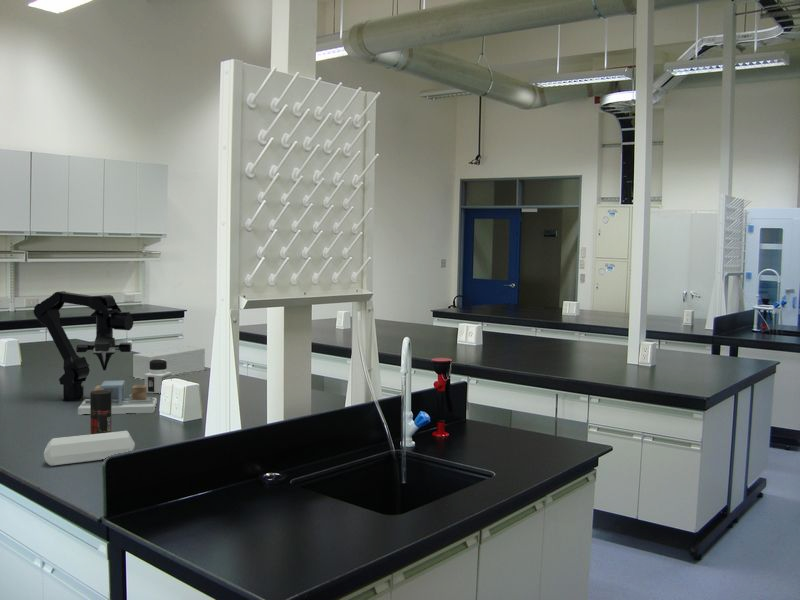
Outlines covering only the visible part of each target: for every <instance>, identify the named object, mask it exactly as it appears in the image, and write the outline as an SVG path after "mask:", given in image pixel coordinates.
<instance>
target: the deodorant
mask: <svg viewBox="0 0 800 600" xmlns="http://www.w3.org/2000/svg"><path fill="white" fill-rule="evenodd" d="M89 399H90V415H89V416H90V435H91V434H100V433H110V432H112V414H111V391H109V390H96V391H95V390H92V391H91V392H90V398H89Z"/></svg>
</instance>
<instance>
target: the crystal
mask: <svg viewBox="0 0 800 600" xmlns="http://www.w3.org/2000/svg"><path fill="white" fill-rule="evenodd" d="M135 446H136V443H135V441H134V440H133V437H132V436H131V434H130V433H129V431H128V430H121V431H120V430H119V431H111V432H110V433H100V434H91V433H90V434H83V435H74V436H71V435H70V436H64V437H54V438H51V439H50V440H49V441H48V443H47V445H46V447H45V449H44V452H43V458H44V460H45V462H46V464H47V465H49V466H51V467H52V466H61V465H69V464H76V463H85V462H93V461H101V460H102V459H103V460H106V459H105V458H106V457H108V456H111V455H114V454H118V453H124V452H128V451H132V450H133V451H134V450H135V448H136V447H135Z"/></svg>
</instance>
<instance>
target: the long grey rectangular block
mask: <svg viewBox="0 0 800 600" xmlns="http://www.w3.org/2000/svg"><path fill="white" fill-rule="evenodd" d="M205 357H206V348H203V347H198V346H196V347H195V346H189V345H188V346H181V347H175V348H168V349H161V350H155V351H154V350H153V351H147V352H142V353H133V354H132V363H133V364H132V365H133V368H132V370H133V371H132V372H133V373H132V374H133V375H132V377H135V378H134V379H136V378H140V379H139V380H141V379H145V374H146V373H149V372H150V361H152V360H155V359H163V360H165V361H167V371H166V372H171V375H175V374H179V373H183V372H191V371H199V370H205V371H206V369H205V368H204V367H206V366H205V364H206V358H205Z"/></svg>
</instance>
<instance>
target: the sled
mask: <svg viewBox="0 0 800 600" xmlns="http://www.w3.org/2000/svg"><path fill="white" fill-rule="evenodd" d="M101 385H102V384H101ZM101 385H99V384H98V385H97V384H96V386H95V387H94V391H96V390H101ZM153 398H154V396H147V397H146V400H132V393H129V395H128V397H127V398H122V401H128V402H145V401H152V400H153ZM111 401H119V399H111Z"/></svg>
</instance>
